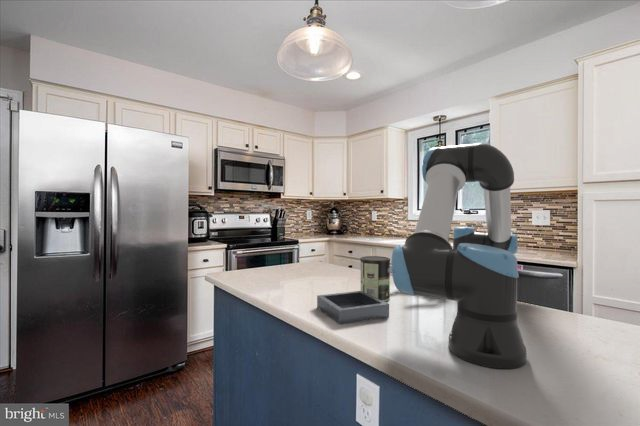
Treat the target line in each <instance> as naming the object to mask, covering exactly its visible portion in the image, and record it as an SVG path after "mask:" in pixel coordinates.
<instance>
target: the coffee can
mask: <svg viewBox="0 0 640 426" xmlns="http://www.w3.org/2000/svg"><path fill="white" fill-rule="evenodd" d="M359 260H360V291H363V292H365V293H367V294H369V295H372V296H374V297H376V298H378V299H380V300H382V301H384V302H386V303H387V302H389V301H390V300H391V298H390V296H391V295H390V292H391V291H390V290H391V289H390V288H391V286H390V285H391V281H390V280H391V276H390V275H391V273H390V265H391V263H390V262H391V258H389V257H386V256H378V255H368V256H361V257H360V258H359Z"/></svg>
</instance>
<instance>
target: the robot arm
mask: <svg viewBox="0 0 640 426" xmlns="http://www.w3.org/2000/svg"><path fill="white" fill-rule="evenodd" d="M421 173H422V178H423V180H424V182H425V183H426V185H427V188H426V192H425V194H424V198H423V202H422V206H421V210H420V213H419V216H418V219H417V222H416V227H415V228H414V229H415V230H414V232H413V233H411V234H409V235H407V237H406V239H405V241H404V245H402V244H398V245H396V246H394V248H393V250H392V253H391V264H390V274H391V275H392V280H393V284H394V287H395V288H396V289H397V291H399V292H400V293H405V294H410V295H412V296H422V297H429V298H434V299H442V300H449V301H456V302H457V303H456V304H457V305H456V306H457V307H456V308H457V309H456V311H457V313H456V315H455V318H454V321H453V324H452V328H451V331H450V332H449V334H448V349H449V350H450V351H451V353H453V355H455V356H456V357H458V358H460V359H462V360H464V361H466V362H469V363H471V364H474V365H477V366H482V367H485V368H487V367H488V368H493V369H515V368H516V367H517V368H519V367H523V366H524V365H526V362H527V348H526V346H525V343H524V340H523V336H522V333H521V331H520V328H519V327H520V326H519V324H518V278H519V271H518V261H517V260H518V259H517V257H516V256H515V254H517V253H518V235H517V234H515V233H512V214H511V213H512V211H511V210H512V209H511V206H512V205H511V204H512V202H511V200H512V199H511V187H512V186H513V185H514V182H515V172H514V169H513V165H512V164H511V162H510V160H509V158H508V157H507V156H506V155H505V154H504V153H503V152H502V151H501V150H500V149H498V148H497V147H495V146H493V145H491V144H488V143H485V142H484V143H483V142H477V143H471V144H470V143H469V144H458V145H447V146H444V145H443V146H442V145H441V146H437V147H431V148H429V149H428V150H427V151H426V152H425V154H424V156H423V159H422V167H421ZM473 182H475V183H476V182H478V184H479V186H480V187H481V189H483V198H484V208H485V209H484V210H485V219H486V220H485V221H486V231H487V232H478V231H477V232H476V231H475V228H474V227H470V226H456V227H455V228H453V236H452V237H453V238H452V244H451V243H450V241H449V238H450V232H451V228H452V223H453V217H454V213H455V209H456V204H457V197H458V193H459V191H461V190H462V189H463V188H464V187H465V185H466V183H473ZM517 368H516V369H517Z"/></svg>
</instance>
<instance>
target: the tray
mask: <svg viewBox="0 0 640 426" xmlns="http://www.w3.org/2000/svg"><path fill="white" fill-rule="evenodd" d="M316 299H317V300H316V308H318V309H319V310H320V311H321V312H322V313H323V314H325V315H326V316H328V317H329V318H330V319H331V320H332V321H333V322H336V324H337V325H346V324H352V323H359V322H366V321H372V320H379V319H385V318H390V303H388V302H387V301H386V302H384V301H382V300H380V299H378V298H376V297H374V296H372V295H369V294H367V293H365V292H363V291H361V290H355V291H348V292H336V293H329V294H328V293H327V294H320V295H316Z"/></svg>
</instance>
